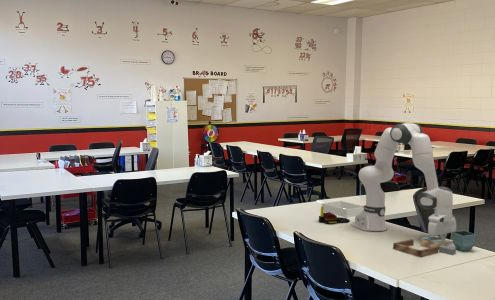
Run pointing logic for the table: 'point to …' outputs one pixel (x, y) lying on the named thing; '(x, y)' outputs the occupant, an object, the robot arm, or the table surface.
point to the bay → (420, 253)
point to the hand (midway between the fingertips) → (442, 241)
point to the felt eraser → (447, 250)
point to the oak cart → (432, 242)
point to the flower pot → (463, 240)
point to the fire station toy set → (331, 218)
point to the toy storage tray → (338, 208)
